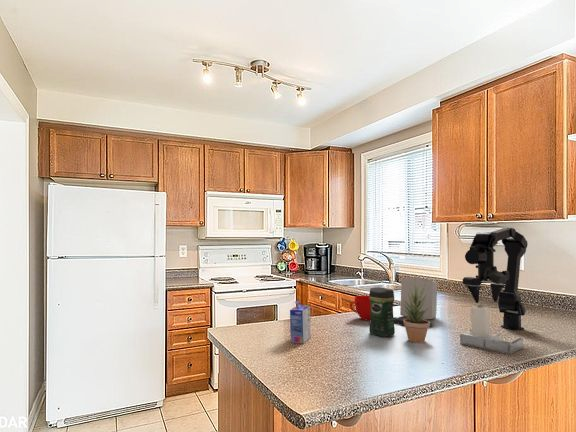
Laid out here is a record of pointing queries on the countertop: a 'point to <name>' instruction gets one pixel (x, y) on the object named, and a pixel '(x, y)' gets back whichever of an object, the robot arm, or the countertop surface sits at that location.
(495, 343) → the rack
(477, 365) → the countertop surface
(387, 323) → the coffee jar
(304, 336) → the ink cartridge box
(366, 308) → the ceramic cup
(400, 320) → the disk drive
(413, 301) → the potted plant
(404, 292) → the electrical switch box
